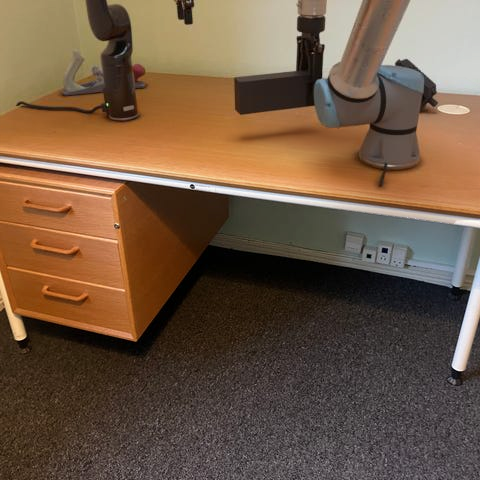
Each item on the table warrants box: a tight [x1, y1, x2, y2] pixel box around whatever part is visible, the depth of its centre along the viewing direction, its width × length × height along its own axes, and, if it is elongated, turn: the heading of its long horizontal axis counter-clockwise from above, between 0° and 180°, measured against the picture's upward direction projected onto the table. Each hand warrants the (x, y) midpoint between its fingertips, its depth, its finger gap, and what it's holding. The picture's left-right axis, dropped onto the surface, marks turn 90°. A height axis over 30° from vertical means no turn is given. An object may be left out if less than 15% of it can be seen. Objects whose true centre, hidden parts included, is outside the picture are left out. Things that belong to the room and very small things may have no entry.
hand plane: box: [61, 48, 146, 96], centre depth 194 cm, size 7×31×15 cm, turn 107°
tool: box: [394, 58, 439, 110], centre depth 172 cm, size 6×19×15 cm, turn 51°
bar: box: [233, 70, 324, 116], centre depth 149 cm, size 24×5×9 cm, turn 107°
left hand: (185, 21), depth 145 cm, fingers open, 8 cm apart
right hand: (307, 101), depth 153 cm, fingers closed on bar, 5 cm apart
